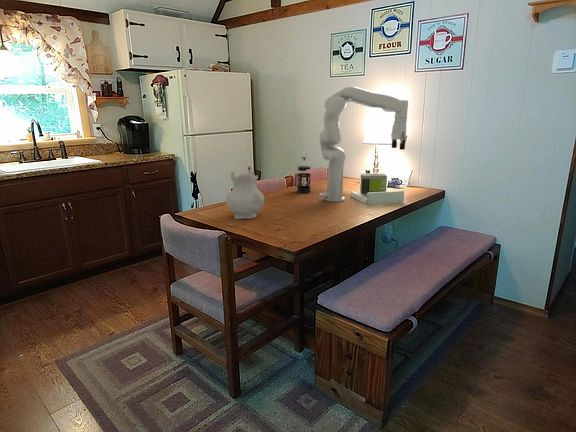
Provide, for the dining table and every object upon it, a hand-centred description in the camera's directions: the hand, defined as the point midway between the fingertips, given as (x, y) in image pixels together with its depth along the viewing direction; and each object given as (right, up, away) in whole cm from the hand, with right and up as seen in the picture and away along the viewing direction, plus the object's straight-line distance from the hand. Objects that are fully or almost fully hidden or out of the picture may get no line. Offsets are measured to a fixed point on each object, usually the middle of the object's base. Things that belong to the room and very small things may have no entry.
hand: (397, 148), depth 239 cm
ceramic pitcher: (-90, -42, -39) cm, 107 cm away
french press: (-58, -26, +17) cm, 66 cm away
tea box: (-16, -31, +1) cm, 35 cm away
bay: (-14, -32, -4) cm, 35 cm away
